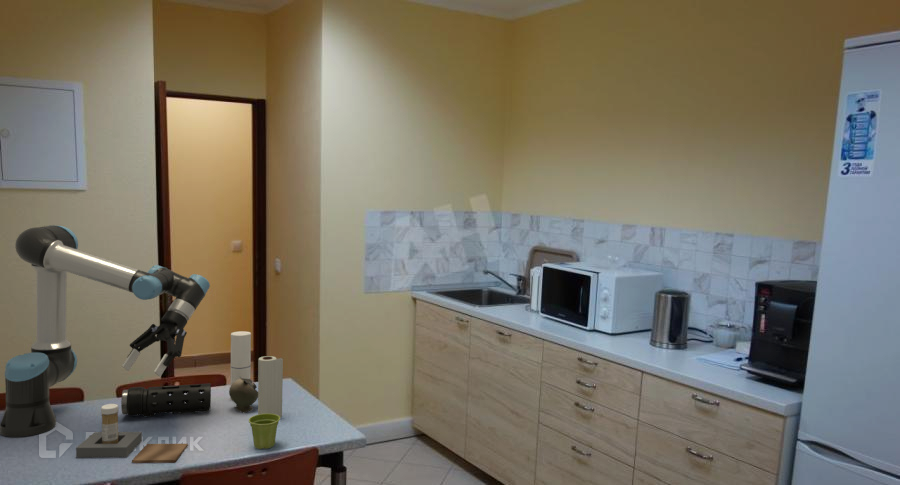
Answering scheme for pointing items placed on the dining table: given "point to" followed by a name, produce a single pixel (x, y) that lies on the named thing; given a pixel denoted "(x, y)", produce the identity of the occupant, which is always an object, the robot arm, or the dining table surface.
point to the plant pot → (264, 430)
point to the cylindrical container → (240, 355)
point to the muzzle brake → (166, 399)
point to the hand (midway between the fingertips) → (140, 371)
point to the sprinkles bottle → (109, 424)
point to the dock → (108, 445)
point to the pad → (160, 453)
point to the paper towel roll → (270, 385)
